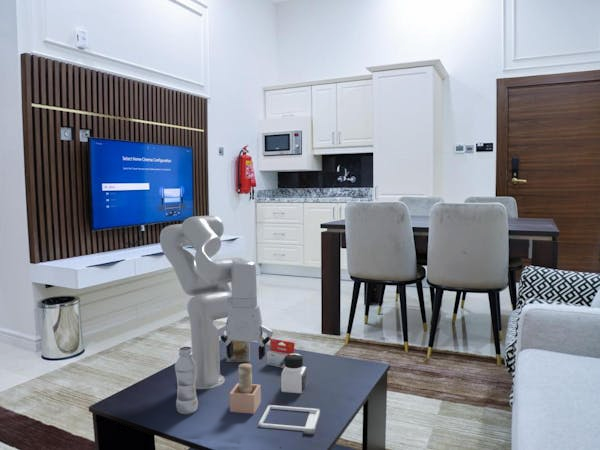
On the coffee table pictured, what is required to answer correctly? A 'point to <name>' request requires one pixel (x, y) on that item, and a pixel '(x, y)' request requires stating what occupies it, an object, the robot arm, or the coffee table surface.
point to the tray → (308, 428)
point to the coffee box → (240, 351)
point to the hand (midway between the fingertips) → (246, 357)
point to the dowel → (245, 378)
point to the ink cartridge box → (279, 352)
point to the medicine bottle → (293, 374)
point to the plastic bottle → (186, 382)
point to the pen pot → (245, 400)
